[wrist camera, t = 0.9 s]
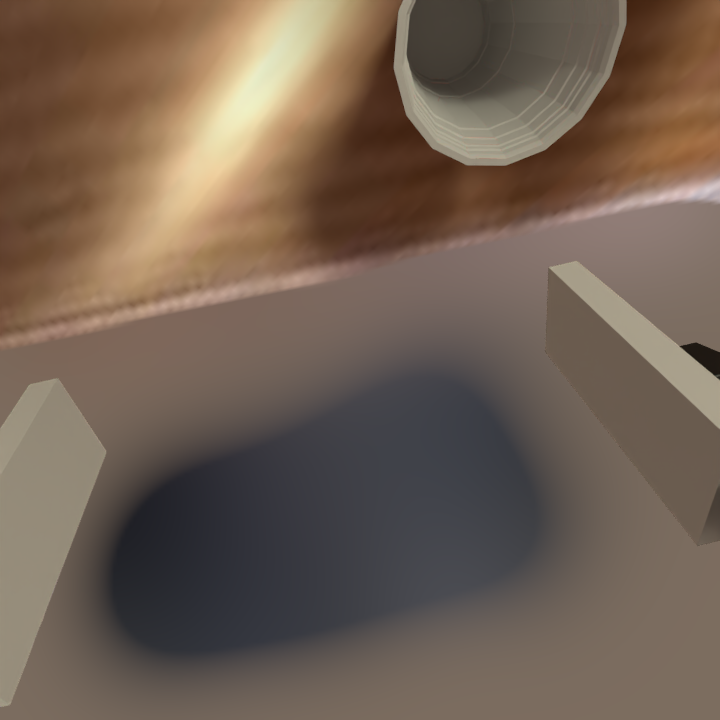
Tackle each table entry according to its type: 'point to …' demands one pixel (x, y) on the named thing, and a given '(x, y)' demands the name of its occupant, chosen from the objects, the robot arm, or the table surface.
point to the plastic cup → (503, 71)
